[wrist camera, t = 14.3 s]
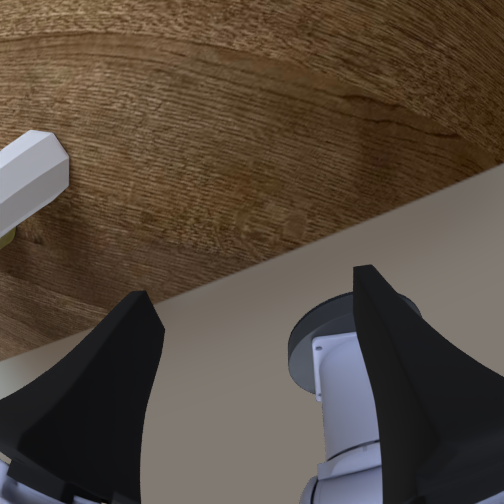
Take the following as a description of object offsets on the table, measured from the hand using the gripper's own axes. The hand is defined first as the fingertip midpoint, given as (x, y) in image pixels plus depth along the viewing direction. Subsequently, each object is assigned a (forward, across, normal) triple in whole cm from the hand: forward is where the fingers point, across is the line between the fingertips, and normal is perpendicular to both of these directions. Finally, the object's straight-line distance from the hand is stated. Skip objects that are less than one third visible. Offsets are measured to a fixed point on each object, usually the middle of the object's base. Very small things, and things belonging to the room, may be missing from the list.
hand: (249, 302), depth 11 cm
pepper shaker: (+10, +14, -5) cm, 18 cm away
